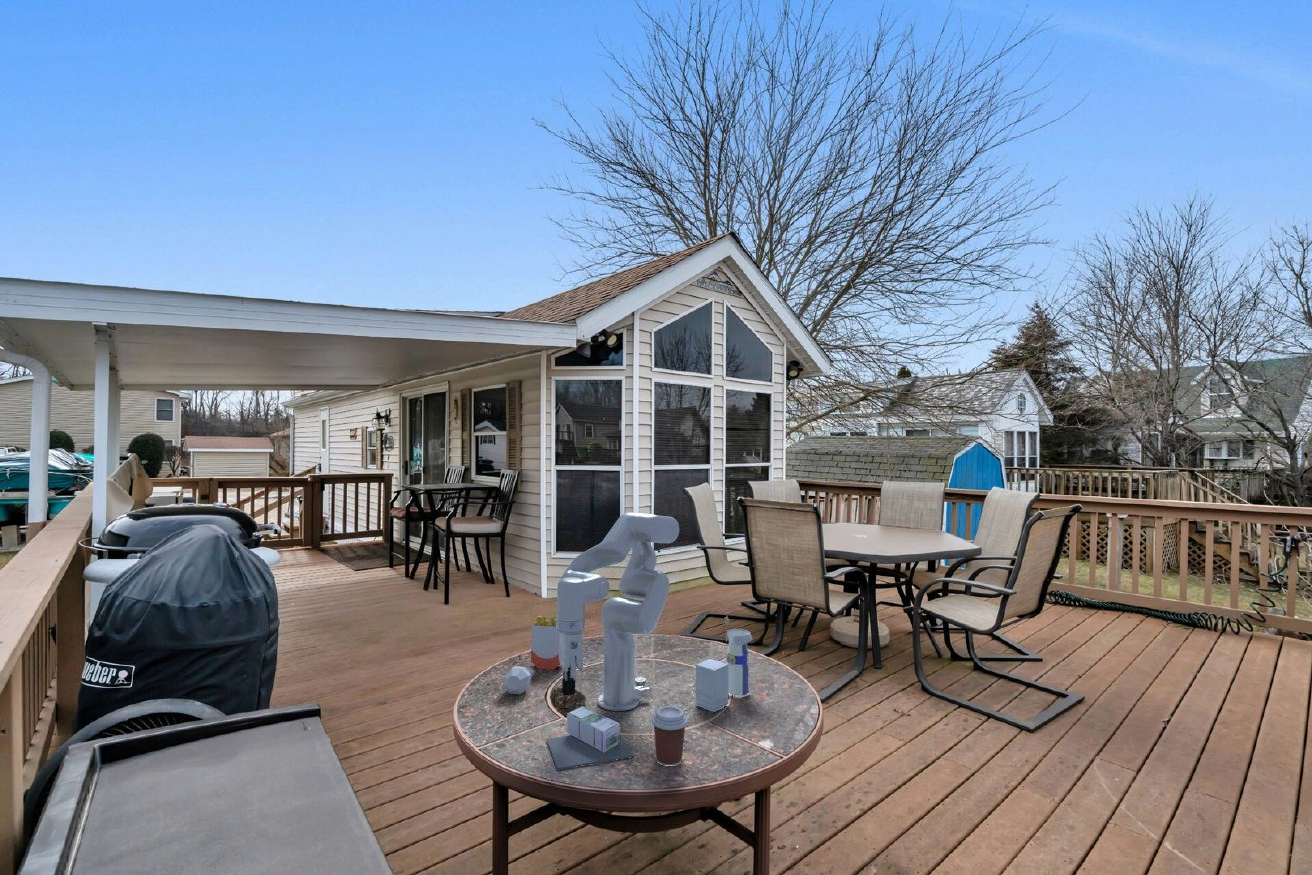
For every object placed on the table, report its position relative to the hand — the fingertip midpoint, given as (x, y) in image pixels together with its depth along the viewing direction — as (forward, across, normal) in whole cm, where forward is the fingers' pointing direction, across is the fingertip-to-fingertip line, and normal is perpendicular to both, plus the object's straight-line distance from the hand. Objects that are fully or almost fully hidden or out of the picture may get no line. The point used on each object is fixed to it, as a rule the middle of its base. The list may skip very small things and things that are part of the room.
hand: (568, 693), depth 160 cm
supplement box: (+11, +6, -45) cm, 47 cm away
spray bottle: (+11, +12, -57) cm, 59 cm away
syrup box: (+7, +1, -2) cm, 8 cm away
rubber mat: (+11, -8, -4) cm, 15 cm away
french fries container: (+11, +52, -4) cm, 53 cm away
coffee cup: (+12, -20, -22) cm, 31 cm away
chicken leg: (+11, +37, +7) cm, 39 cm away
